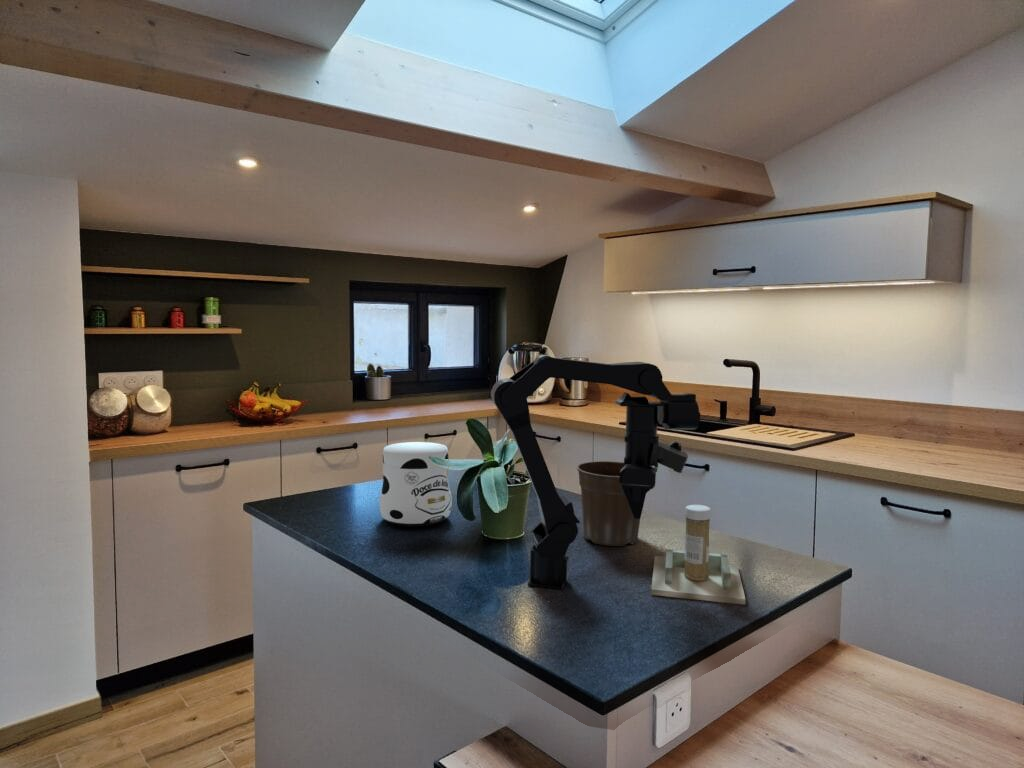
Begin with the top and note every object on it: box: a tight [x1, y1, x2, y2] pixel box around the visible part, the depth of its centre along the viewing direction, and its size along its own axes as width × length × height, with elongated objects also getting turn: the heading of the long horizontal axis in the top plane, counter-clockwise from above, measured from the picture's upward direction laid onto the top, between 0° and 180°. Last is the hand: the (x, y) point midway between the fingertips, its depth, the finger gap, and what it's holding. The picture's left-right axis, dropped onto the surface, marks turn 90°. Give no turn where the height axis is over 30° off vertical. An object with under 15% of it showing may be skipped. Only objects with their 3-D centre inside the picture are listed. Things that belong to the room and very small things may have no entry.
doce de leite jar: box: [378, 441, 453, 528], centre depth 163 cm, size 17×17×18 cm
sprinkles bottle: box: [684, 504, 712, 581], centre depth 127 cm, size 5×5×13 cm
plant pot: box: [576, 460, 641, 547], centre depth 152 cm, size 16×16×16 cm
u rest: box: [650, 548, 746, 606], centre depth 128 cm, size 16×18×4 cm
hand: (638, 511), depth 128 cm, fingers open, 9 cm apart
